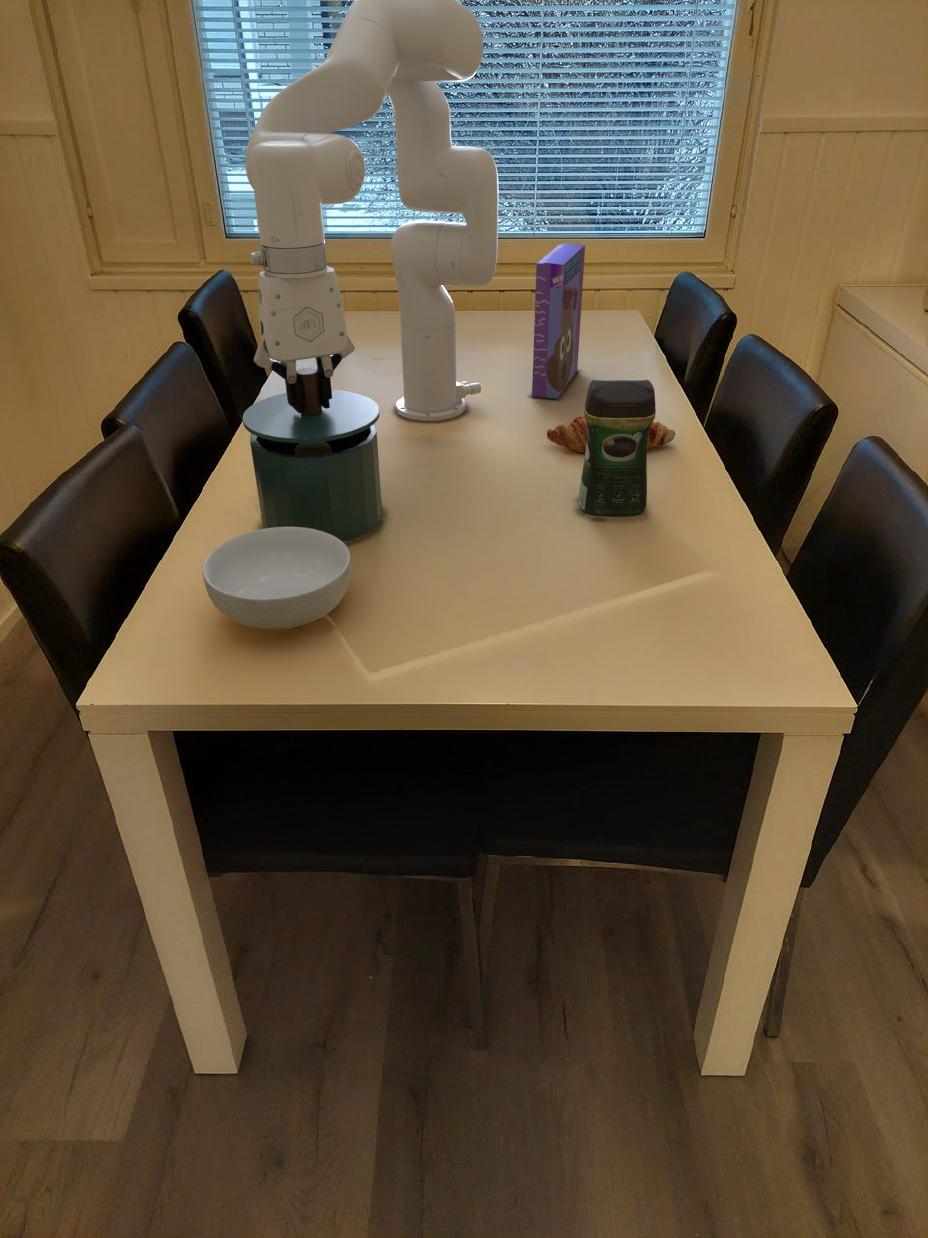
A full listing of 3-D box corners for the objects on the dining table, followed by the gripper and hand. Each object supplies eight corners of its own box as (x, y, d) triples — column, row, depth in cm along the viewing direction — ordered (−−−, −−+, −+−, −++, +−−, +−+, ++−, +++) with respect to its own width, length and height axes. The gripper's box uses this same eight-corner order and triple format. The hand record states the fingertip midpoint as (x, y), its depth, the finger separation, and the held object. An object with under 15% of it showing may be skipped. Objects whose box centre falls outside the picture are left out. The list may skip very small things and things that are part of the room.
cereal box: (556, 399, 164) (563, 263, 150) (531, 397, 165) (536, 261, 152) (577, 370, 177) (585, 243, 164) (554, 368, 179) (560, 242, 165)
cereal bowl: (289, 669, 95) (281, 614, 91) (181, 624, 103) (170, 572, 99) (382, 597, 107) (379, 546, 103) (280, 561, 115) (273, 513, 111)
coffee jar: (641, 495, 130) (655, 371, 120) (648, 520, 123) (663, 391, 113) (575, 495, 130) (583, 371, 120) (579, 520, 124) (588, 391, 113)
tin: (356, 485, 134) (349, 402, 126) (400, 531, 121) (395, 442, 114) (249, 509, 127) (235, 423, 120) (284, 559, 115) (271, 467, 108)
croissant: (666, 457, 150) (666, 409, 149) (684, 451, 140) (685, 400, 139) (542, 459, 148) (542, 410, 148) (552, 454, 138) (552, 402, 138)
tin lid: (351, 389, 126) (347, 342, 122) (401, 431, 113) (398, 380, 109) (228, 411, 119) (220, 362, 116) (266, 457, 106) (258, 404, 102)
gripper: (235, 272, 99) (258, 428, 109) (370, 257, 105) (379, 406, 115) (219, 260, 105) (242, 409, 115) (347, 246, 111) (358, 389, 121)
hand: (310, 406), depth 115 cm, fingers closed on tin lid, 2 cm apart
